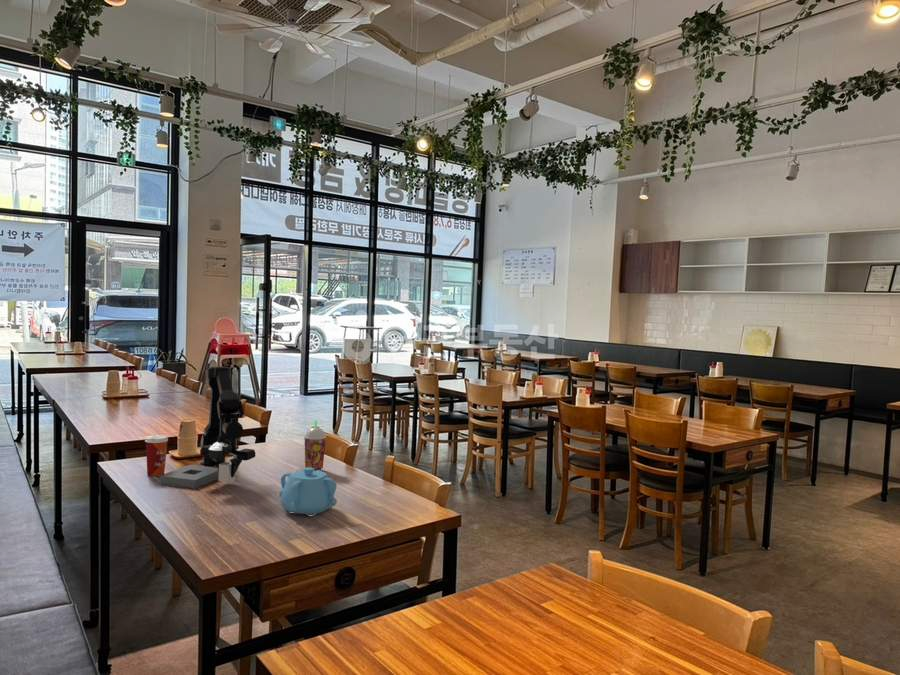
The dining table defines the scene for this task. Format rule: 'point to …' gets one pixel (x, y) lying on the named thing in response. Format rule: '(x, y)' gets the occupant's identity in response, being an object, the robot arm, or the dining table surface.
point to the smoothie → (314, 448)
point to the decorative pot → (307, 491)
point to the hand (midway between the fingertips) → (227, 476)
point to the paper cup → (156, 454)
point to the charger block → (225, 472)
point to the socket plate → (190, 476)
